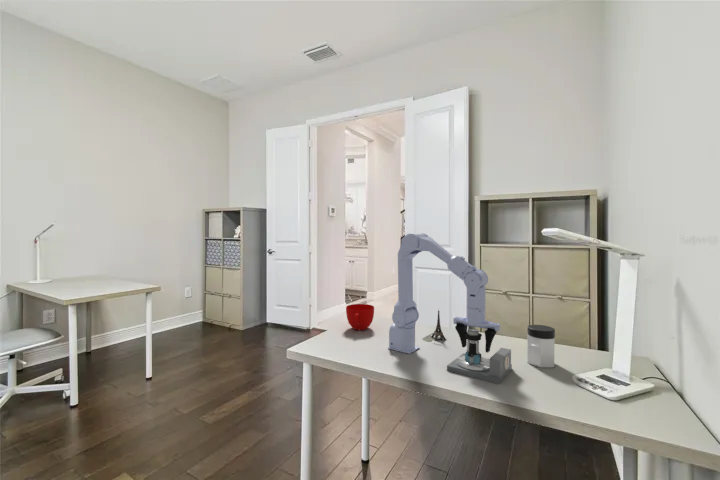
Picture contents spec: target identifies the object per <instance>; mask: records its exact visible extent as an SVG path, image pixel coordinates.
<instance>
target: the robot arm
mask: <svg viewBox="0 0 720 480" xmlns="http://www.w3.org/2000/svg"><path fill="white" fill-rule="evenodd" d="M400 243H401V244H400V247H399V249H398V252H397V289H398V290H397V291H398V292H397V293H398V296H397V297H398V300H397V301H396V303H395V305H394V306H393V312H392V315H391V319H392V322H393V323H392V324H391V325H390V327H389V330H388V331H389V332H388V333H389V334H388V347H387V349H389V350H394V351H396V352H401V353H405V354H409V355H410V354H412V353H414V352H415V351H417V350H419V349H420V346H418V345H416V323H417V321H418V319H419V317H420V314H419V311H418V308H417V303H416V302H415V300H414V288H413V287H414V286H413V285H414V282H413V281H414V279H413V275H414V273H413V271H414V270H413V268H414V267H413V259H414V257H416V256H417V255H418V254H419V253H421V252H429V253H431V254H432V255H433V256H435V257H436V258H437V259H440V261H442V262H444V263H445V264H446V266H447V269H448V270H449V271H450V272H451V273H453V274H454V275H455V276H456V277H458V278H459V279H461V280H462V281H463V284H464V285H465V287H466V317H458V316H454V317H453V321H452V323H453V324H454V325H455V326H454V327H455V330H456V332H457V335H458V337H459V340H460V343H461V347H462V348H466V347H467V339H466V338H465V332H467V330H468V327H473V328H479V329H480V328H481V329H485V331H484V337H485V349H484V350H485V353H489V352H490V351H491V348H492V347H491V346H492V344H493V343H492V342H493V340H494V338H495V336H496V333H497V332H500V330H501V324H500V323H498V322H497V323H496V322H492V321H488V320H486V285H488V282H489V277H488V274H487V272H485V270H483V269H479V268H478V269H477V266H476V265H472V264H471V263H470V262H468V261H466V258H465V257H464V256H459V255H453V254H451V253H450V252H449V251H448V250H447V249H445V248H444V247H443V246H442V245H440V244H439V243H438V242H437V241H436V240H434V238H432V237H431V236H429V235H428V234H426V233H407V234H406V235H405V236H403V237H402V238H401V241H400Z"/></svg>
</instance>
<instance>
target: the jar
mask: <svg viewBox="0 0 720 480" xmlns="http://www.w3.org/2000/svg"><path fill="white" fill-rule="evenodd" d="M555 338H556V329H555V328H554V327H552V326H550V325H549V326H548V325H541V324H530V325H528V326H527V353H526V355H527V357H526V358H527V359H526V360H527V362H526V363H528V364H529V365H531V366H535V367H538V368H541V369H542V368H555V342H556V341H555V340H556V339H555Z"/></svg>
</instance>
